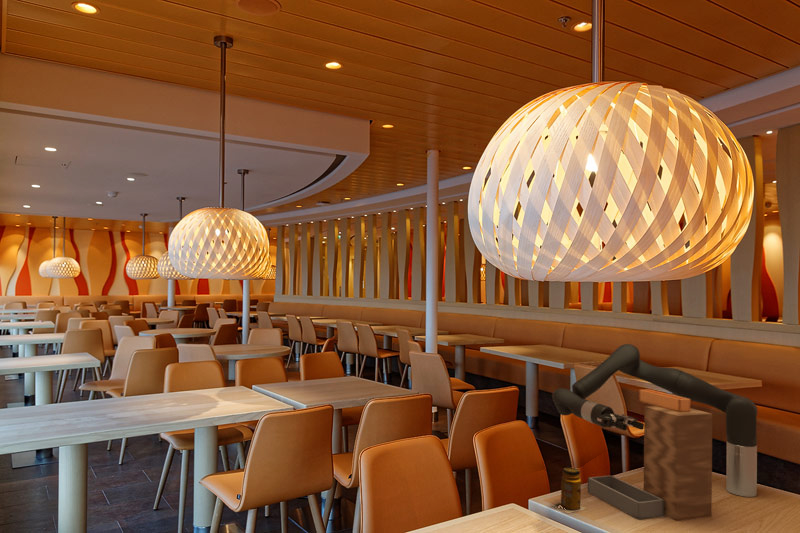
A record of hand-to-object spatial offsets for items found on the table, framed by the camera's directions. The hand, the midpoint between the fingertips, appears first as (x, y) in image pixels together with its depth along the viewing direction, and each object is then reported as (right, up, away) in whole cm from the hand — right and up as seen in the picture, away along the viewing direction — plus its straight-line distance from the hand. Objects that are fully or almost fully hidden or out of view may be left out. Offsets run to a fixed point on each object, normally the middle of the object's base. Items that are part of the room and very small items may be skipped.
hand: (634, 427), depth 195 cm
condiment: (-25, -23, -10) cm, 36 cm away
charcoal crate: (-6, -24, -5) cm, 25 cm away
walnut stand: (+10, -24, -9) cm, 28 cm away
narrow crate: (+9, +8, -2) cm, 12 cm away
